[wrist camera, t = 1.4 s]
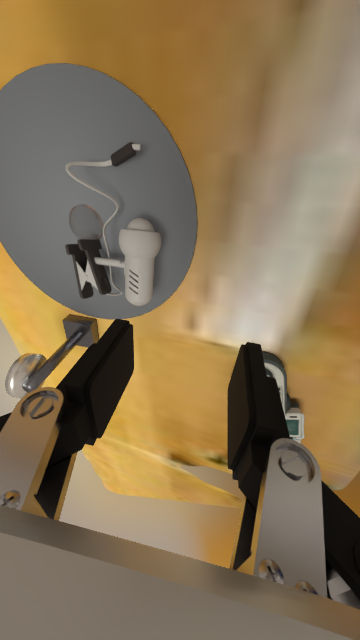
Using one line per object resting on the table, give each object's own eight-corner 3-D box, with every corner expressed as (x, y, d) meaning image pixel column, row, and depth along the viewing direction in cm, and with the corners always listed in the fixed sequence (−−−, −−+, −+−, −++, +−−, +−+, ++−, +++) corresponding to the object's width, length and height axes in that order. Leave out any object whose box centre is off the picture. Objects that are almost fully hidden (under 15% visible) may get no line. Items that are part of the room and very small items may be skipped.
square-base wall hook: (69, 311, 39) (-5, 374, 27) (96, 316, 39) (34, 382, 26) (74, 339, 43) (11, 406, 30) (99, 343, 42) (46, 413, 30)
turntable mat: (-66, 55, 24) (-68, 54, 24) (217, 73, 21) (217, 72, 21) (19, 303, 40) (18, 303, 40) (184, 332, 37) (184, 333, 37)
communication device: (301, 344, 35) (321, 388, 28) (297, 436, 47) (310, 484, 39) (223, 350, 39) (223, 390, 31) (237, 435, 50) (239, 479, 43)
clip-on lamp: (83, 154, 29) (90, 292, 35) (43, 132, 23) (60, 303, 29) (172, 156, 26) (162, 304, 32) (151, 131, 20) (145, 318, 27)
